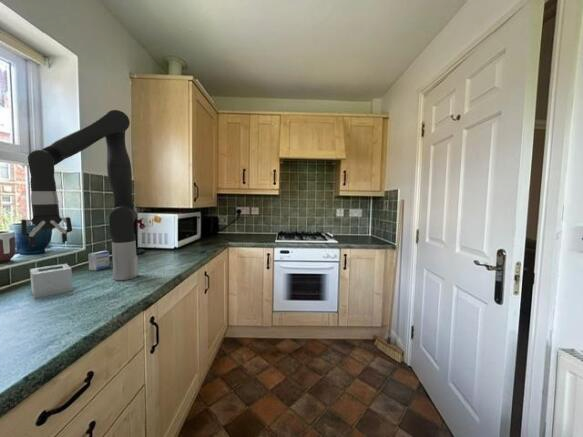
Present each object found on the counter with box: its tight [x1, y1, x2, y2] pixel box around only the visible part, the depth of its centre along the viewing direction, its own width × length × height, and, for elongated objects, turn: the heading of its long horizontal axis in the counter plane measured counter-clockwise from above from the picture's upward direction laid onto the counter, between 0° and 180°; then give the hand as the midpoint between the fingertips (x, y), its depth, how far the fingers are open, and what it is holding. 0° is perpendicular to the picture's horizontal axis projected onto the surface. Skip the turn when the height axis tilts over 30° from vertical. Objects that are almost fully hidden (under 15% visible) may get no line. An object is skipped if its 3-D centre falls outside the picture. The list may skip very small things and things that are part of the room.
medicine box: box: [87, 250, 110, 271], centre depth 133 cm, size 8×4×9 cm, turn 168°
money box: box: [29, 263, 74, 299], centre depth 102 cm, size 11×11×9 cm
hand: (49, 244), depth 100 cm, fingers open, 8 cm apart
